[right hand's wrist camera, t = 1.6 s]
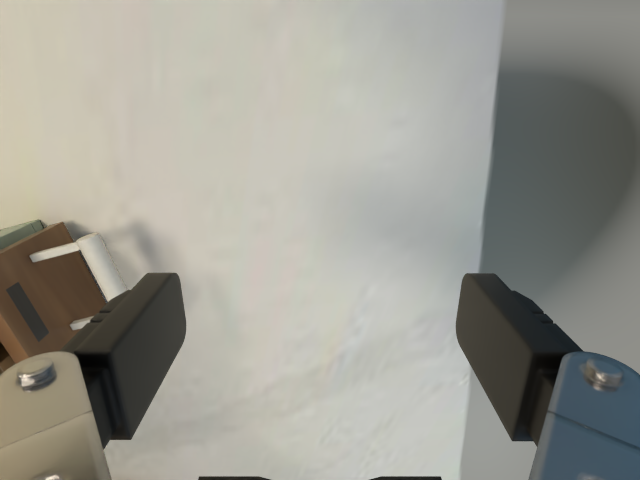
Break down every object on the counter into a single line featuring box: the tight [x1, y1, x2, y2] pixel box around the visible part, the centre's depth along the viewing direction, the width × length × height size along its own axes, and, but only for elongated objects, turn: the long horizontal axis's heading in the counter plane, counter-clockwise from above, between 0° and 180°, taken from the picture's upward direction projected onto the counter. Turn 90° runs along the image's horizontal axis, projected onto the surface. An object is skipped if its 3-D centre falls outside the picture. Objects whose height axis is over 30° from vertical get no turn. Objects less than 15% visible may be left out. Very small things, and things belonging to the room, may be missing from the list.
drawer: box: [0, 222, 127, 374], centre depth 31 cm, size 17×9×9 cm, turn 105°
